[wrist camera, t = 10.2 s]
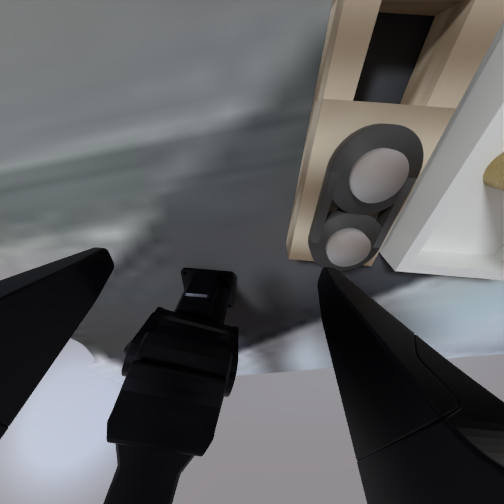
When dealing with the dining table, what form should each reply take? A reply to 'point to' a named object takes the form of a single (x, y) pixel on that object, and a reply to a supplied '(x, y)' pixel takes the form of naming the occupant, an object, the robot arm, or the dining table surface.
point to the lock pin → (495, 173)
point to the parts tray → (459, 189)
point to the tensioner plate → (418, 99)
